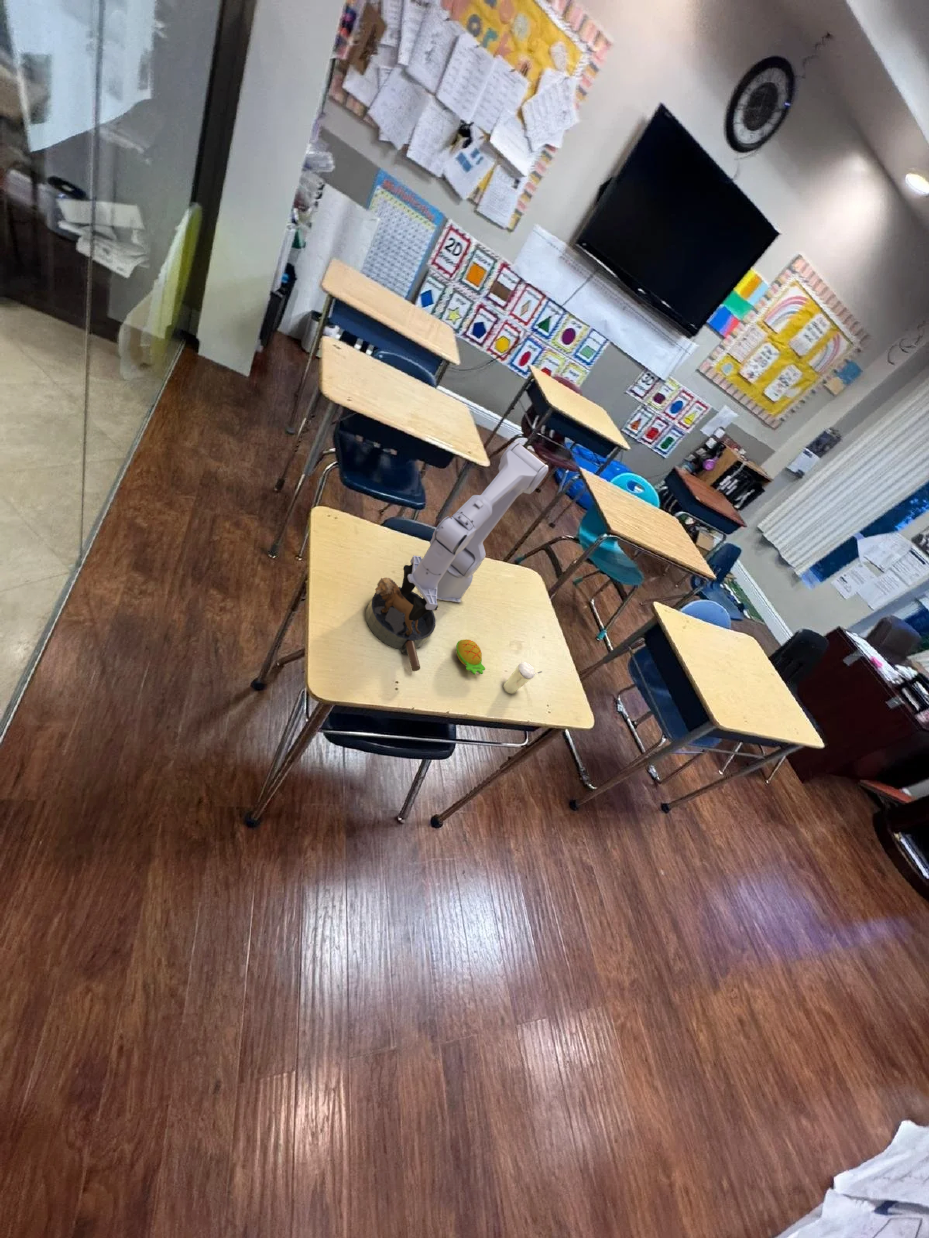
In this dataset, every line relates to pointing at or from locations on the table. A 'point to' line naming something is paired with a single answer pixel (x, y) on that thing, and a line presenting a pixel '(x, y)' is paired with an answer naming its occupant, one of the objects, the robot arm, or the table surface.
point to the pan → (397, 623)
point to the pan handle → (411, 655)
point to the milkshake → (519, 677)
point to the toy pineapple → (470, 655)
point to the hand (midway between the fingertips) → (408, 605)
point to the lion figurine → (395, 601)
